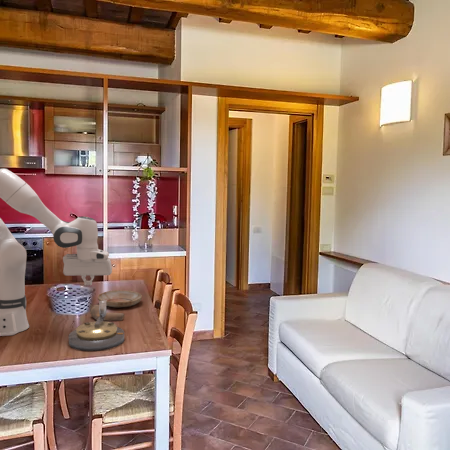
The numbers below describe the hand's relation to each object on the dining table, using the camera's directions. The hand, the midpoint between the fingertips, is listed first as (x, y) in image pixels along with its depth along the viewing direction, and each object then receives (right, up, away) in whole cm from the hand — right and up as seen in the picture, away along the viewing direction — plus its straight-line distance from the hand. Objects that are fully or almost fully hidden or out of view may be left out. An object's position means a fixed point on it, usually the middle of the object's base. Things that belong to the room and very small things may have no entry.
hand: (88, 285), depth 190 cm
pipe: (+3, -19, +19) cm, 27 cm away
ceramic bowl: (+3, -17, +43) cm, 46 cm away
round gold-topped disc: (+7, -18, -7) cm, 21 cm away
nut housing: (+7, -22, -10) cm, 25 cm away
